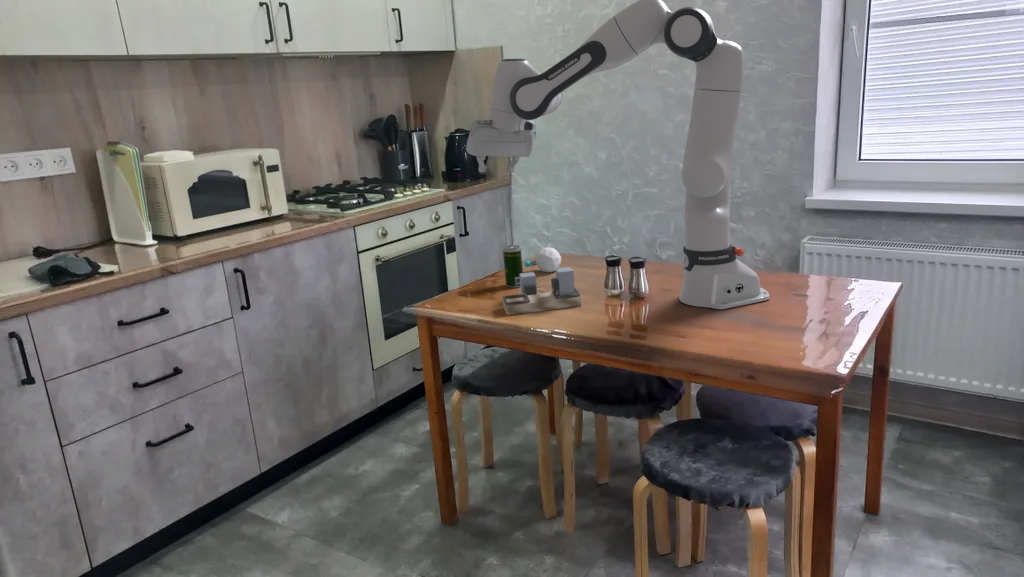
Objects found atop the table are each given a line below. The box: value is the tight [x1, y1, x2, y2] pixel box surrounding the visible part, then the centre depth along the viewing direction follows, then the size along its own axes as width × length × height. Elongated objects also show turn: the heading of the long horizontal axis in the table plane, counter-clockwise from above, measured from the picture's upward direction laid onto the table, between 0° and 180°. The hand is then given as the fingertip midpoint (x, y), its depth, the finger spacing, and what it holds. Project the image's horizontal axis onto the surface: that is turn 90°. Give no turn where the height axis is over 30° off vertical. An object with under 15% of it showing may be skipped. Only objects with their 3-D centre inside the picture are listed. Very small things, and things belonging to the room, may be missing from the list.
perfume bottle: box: [524, 246, 562, 273], centre depth 222 cm, size 8×8×12 cm
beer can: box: [502, 244, 524, 289], centre depth 209 cm, size 5×5×12 cm
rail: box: [502, 287, 582, 316], centre depth 189 cm, size 20×7×3 cm, turn 98°
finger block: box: [519, 271, 538, 296], centre depth 195 cm, size 6×4×7 cm
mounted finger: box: [550, 266, 575, 296], centre depth 188 cm, size 6×4×7 cm
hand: (496, 171), depth 191 cm, fingers open, 8 cm apart
